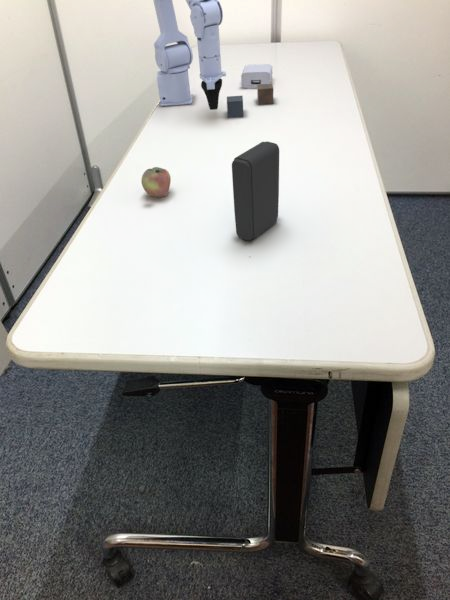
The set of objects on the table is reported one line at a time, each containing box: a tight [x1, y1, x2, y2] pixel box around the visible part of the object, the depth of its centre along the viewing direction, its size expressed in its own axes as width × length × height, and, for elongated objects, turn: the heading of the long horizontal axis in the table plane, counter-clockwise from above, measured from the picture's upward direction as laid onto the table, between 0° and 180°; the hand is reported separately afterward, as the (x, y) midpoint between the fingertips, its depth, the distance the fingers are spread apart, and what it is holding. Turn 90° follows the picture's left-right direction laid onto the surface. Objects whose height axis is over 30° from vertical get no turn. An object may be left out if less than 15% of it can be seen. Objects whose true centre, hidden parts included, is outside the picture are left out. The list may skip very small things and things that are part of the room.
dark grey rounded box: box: [231, 140, 280, 242], centre depth 80 cm, size 9×4×15 cm, turn 141°
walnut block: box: [256, 83, 274, 106], centre depth 135 cm, size 4×4×4 cm
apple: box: [140, 166, 172, 198], centre depth 95 cm, size 6×8×6 cm
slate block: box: [226, 95, 245, 119], centre depth 129 cm, size 4×4×4 cm
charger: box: [240, 63, 273, 89], centre depth 151 cm, size 5×9×15 cm
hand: (213, 108), depth 129 cm, fingers closed
